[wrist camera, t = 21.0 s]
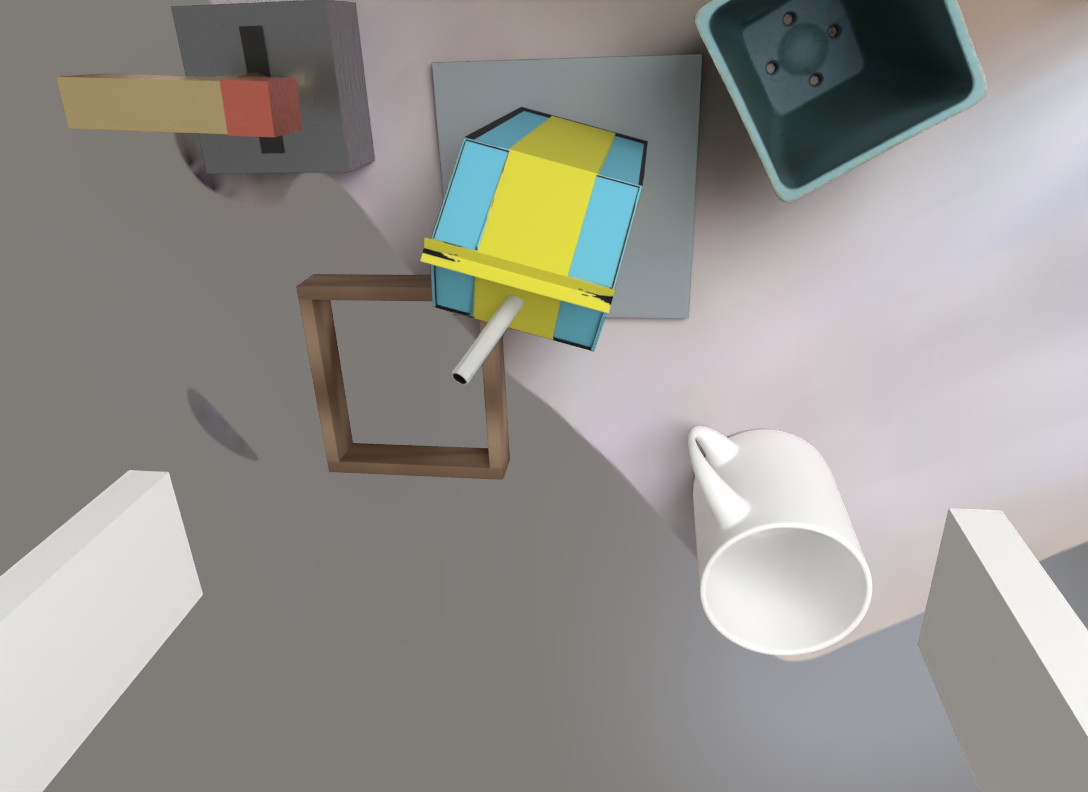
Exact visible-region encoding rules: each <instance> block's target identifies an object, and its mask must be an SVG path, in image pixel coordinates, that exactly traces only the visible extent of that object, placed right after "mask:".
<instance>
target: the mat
mask: <svg viewBox="0 0 1088 792" xmlns="http://www.w3.org/2000/svg"><path fill="white" fill-rule="evenodd" d="M701 69H702V54H685V55H654V56H623V57H592V58H560V59H529V60H498V61H467V62H436V63H432V71H433V83H434V94H435V105H436V117H437V128H438V140H439V151H440V163H441V174H442V186H443V197H445V194H446V191H447V188H448V185H449V182H450V179H451V176H452V173H453V169H454V166H455V163H456V160H457V157H458V154H459V151H460V148H461V145H462V142H463V139H464V137H465V136H467V135H469V134H471V133H473V132H475V131H476V130H478V129H480V128H482V127H484V126H486V125H488V124H490V123H491V122H493V121H495V120H497V119H499V118H501V117H503V116H505V115H507V114H508V113H510V112H512V111H514V110H516V109H518V108H520V107H525V108H528V109H532V110H535V111H539V112H543V113H546V114H550V115H554V116H557V117H561V118H565V119H568V120H572V121H576V122H579V123H583V124H587V125H590V126H594V127H598V128H601V129H605V130H609V131H612V132H616V133H620V134H623V135H627V136H631V137H634V138H638V139H642V140H645V141H648V144H647V153H646V162H645V173H644V174H645V175H644V180H643V187H642V191H641V195H640V198H639V202H638V206H637V209H636V213H635V217H634V220H633V224H632V228H631V231H630V235H629V239H628V242H627V246H626V250H625V253H624V257H623V261H622V264H621V268H620V272H619V275H618V279H617V283H616V286H615V293H614V296H613V300H612V303H611V307H610V310H609V314H608V313H607V314H606V317H621V318H689V305H690V286H691V266H692V246H693V227H694V207H695V187H696V167H697V148H698V128H699V108H700V89H701ZM454 315H461V314H458V313H454Z"/></svg>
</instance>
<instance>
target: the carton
mask: <svg viewBox="0 0 1088 792" xmlns="http://www.w3.org/2000/svg"><path fill="white" fill-rule="evenodd" d="M647 144H648V141H645V140H642V139H638V138H634V137H631V136H627V135H623V134H620V133H616V132H612V131H609V130H605V129H601V128H598V127H594V126H590V125H587V124H583V123H579V122H576V121H572V120H568V119H565V118H561V117H557V116H554V115H550V114H546V113H543V112H539V111H535V110H532V109H528V108H525V107H520V108H518V109H516V110H514V111H512V112H510V113H508V114H507V115H505V116H503V117H501V118H499V119H497V120H495V121H493V122H491V123H490V124H488V125H486V126H484V127H482V128H480V129H478V130H476V131H475V132H473V133H471V134H469V135H467V136H465V137H464V139H463V142H462V145H461V148H460V151H459V154H458V157H457V160H456V163H455V166H454V169H453V173H452V176H451V179H450V182H449V185H448V188H447V191H446V194H445V197H444V200H443V203H442V206H441V209H440V212H439V215H438V218H437V221H436V224H435V227H434V230H433V234H432V237H431V239H429V238H424V249H423V253H422V257H421V260H420V261H421V262H424V263H428V264H431V280H432V299H433V307H436V308H440V309H443V310H447V311H450V312H454V313H458V314H461V315H465V316H468V317H472V318H476V319H479V320H483V321H486V322H488V323H487V325H486V326H485V328H484V329H483V330H482V332H481V333H480V334H479V336H478V337H477V338H476V340H475V341H474V343H473V344H472V345H471V347H470V348H469V350H468V351H467V352H466V354H465V355H464V356H463V358H462V359H461V360H460V362H459V363H458V364H457V366H456V367H455V369H454V370H453V371H452V375H451V376H452V378H453V379H454V380H455V381H456V382H457V383H459V384H462V385H467V384H468V383H469V381H470V380H471V379H472V377H473V376H474V374H475V373H476V372H477V370H478V368H479V367H480V366H481V364H482V363H483V362H484V360H485V359H486V357H487V356H488V355H489V353H490V352H491V350H492V349H493V347H494V346H495V345H496V343H497V342H498V340H499V339H500V338H501V336H502V335H503V333H504V332H505V330H506V329H507V328H511V329H515V330H519V331H522V332H526V333H529V334H533V335H537V336H540V337H544V338H547V339H551V340H555V341H558V342H562V343H565V344H569V345H572V346H576V347H580V348H583V349H587V350H590V351H594V350H595V347H596V344H597V341H598V338H599V335H600V332H601V329H602V326H603V323H604V320H605V317H606V314H607V313H608V314H609V310H610V307H611V303H612V300H613V296H614V293H615V286H616V283H617V279H618V275H619V272H620V268H621V264H622V261H623V257H624V253H625V250H626V246H627V242H628V239H629V235H630V231H631V228H632V224H633V220H634V217H635V213H636V209H637V206H638V202H639V198H640V195H641V191H642V187H643V180H644V175H645V174H644V173H645V162H646V153H647Z"/></svg>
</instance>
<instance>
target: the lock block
mask: <svg viewBox="0 0 1088 792" xmlns="http://www.w3.org/2000/svg"><path fill="white" fill-rule="evenodd" d="M171 9H172V14H173V18H174V23H175V27H176V32H177V36H178V41H179V46H180V51H181V55H182V60H183V64H184V69H185V74H186V76H201V77H218V76H228V75H238V74H248V73H262V74H264V75H266V76H268V77H289V78H297V85H298V94H299V103H300V112H301V120H302V129H303V130H300V131H296V132H292V133H289V134H285V135H281V136H278V137H252V136H228V134H209V133H198V135H199V139H200V144H201V149H202V153H203V158H204V163H205V167H206V172H207V174H220V173H303V172H350V171H352V170H355V169H357V168H359V167H361V166H364V165H366V164H368V163H370V162H373V161H375V158H374V150H373V142H372V133H371V125H370V117H369V109H368V101H367V93H366V84H365V76H364V68H363V60H362V52H361V44H360V36H359V27H358V19H357V11H356V3H355V2H345V1H335V0H305V1H283V2H260V3H238V4H216V5H195V6H171Z"/></svg>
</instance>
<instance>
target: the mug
mask: <svg viewBox="0 0 1088 792" xmlns="http://www.w3.org/2000/svg"><path fill="white" fill-rule="evenodd" d="M695 439H696V440H697V442H698V443H699V444H700V446H701V447H702V449H703V451H704V452H705V454H706V456H705V458H704V456H703V455H702V453H701V452H700V450H699V448H698V446H697V444H696V441H695ZM688 450H689V456H690V460H691V464H692V467H693V470H694V474H695V480H694V487H693V503H694V518H695V532H696V546H697V560H698V575H699V589H700V599H701V603H702V606H703V609H704V612H705V614H706V615H707V617H708V619H709V621H710V622H711V623H712V624H713V626H714V627H715V628H716V629H717V630H718V631H719V632H720V633H721V634H722V635H724V636H725V637H726V638H728V639H729V640H730V641H732V642H734V643H736V644H737V645H739V646H742V647H744V648H746V649H748V650H752V651H755V652H759V653H763V654H768V655H778V656H791V655H801V654H806V653H811V652H815V651H818V650H821V649H824V648H826V647H829V646H831V645H833V644H835V643H836V642H838V641H840V640H841V639H843V638H844V637H846V636H847V635H848V634H849V633H850V632H851V631H853V630H854V629H855V628H856V627H857V625H858V624H859V623H860V622H861V620H862V619H863V617H864V615H865V614H866V612H867V609H868V607H869V605H870V601H871V596H872V578H871V574H870V571H869V568H868V565H867V563H866V560H865V557H864V555H863V552H862V550H861V547H860V545H859V542H858V539H857V537H856V534H855V532H854V529H853V527H852V524H851V521H850V519H849V516H848V514H847V511H846V509H845V506H844V503H843V501H842V498H841V496H840V493H839V491H838V488H837V486H836V483H835V480H834V478H833V475H832V473H831V471H830V469H829V467H828V465H827V463H826V461H825V460H824V459H823V457H822V456H821V455H820V453H819V452H818V451H817V450H816V449H815V448H814V447H813V446H812V445H810V444H809V443H808V442H806V441H805V440H803V439H801V438H800V437H797V436H795V435H793V434H790V433H787V432H784V431H778V430H769V429H759V430H751V431H746V432H742V433H738V434H736V435H733V436H731V437H729V438H727V437H726V436H724V435H722V434H721V433H719V432H717V431H715V430H713V429H711V428H709V427H705V426H695V427H693V428H692V429H691V430H690V431H689V434H688Z"/></svg>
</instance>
